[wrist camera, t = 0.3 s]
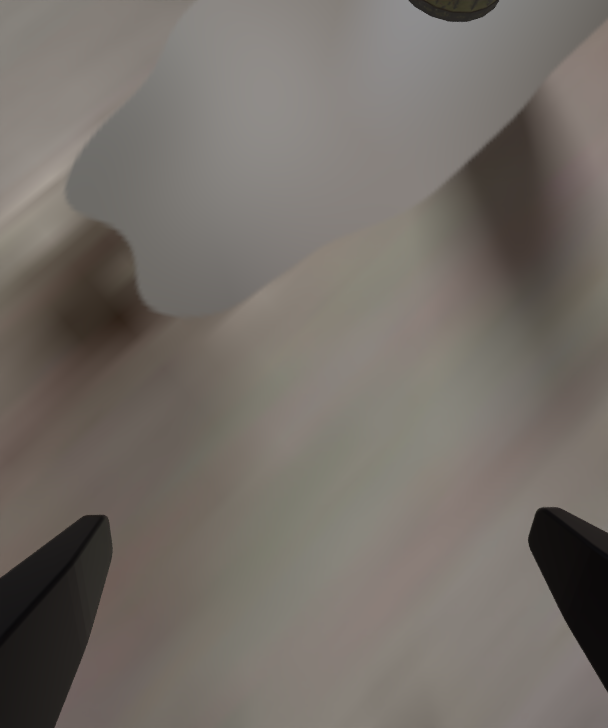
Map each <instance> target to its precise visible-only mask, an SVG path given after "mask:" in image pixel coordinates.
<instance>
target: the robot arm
mask: <svg viewBox="0 0 608 728" xmlns="http://www.w3.org/2000/svg"><path fill="white" fill-rule="evenodd" d="M528 542H529V547H530V550H531V552H532V554H533V556H534V558H535V560H536V562H537V564H538V566H539V568H540V570H541V573H542V575H543V577H544V579H545V581H546V583H547V585H548V587H549V589H550V591H551V593H552V595H553V597H554V599H555V601H556V603H557V606H558V608H559V610H560V611H561V613H562V615H563V617H564V619H565V621H566V623H567V625H568V626H569V628H570V630H571V632H572V633H573V635H574V637H575V638H576V640H577V642H578V643H579V645H580V647H581V648H582V650H583V652H584V653H585V655H586V657H587V658H588V660H589V662H590V664H591V665H592V667H593V669H594V670H595V672H596V674H597V675H598V677H599V679H600V680H601V682H602V684H603V685H604V687H605V689H606V690H607V692H608V533H607V532H605V531H603V530H601V529H599V528H597V527H595V526H593V525H592V524H590V523H588V522H586V521H584V520H582V519H580V518H578V517H576V516H574V515H572V514H571V513H569V512H567V511H565V510H563V509H561V508H558V507H542V508H539V509H538V510H537V511H536V514H535V517H534V520H533V523H532V526H531V530H530V533H529V537H528ZM112 549H113V548H112V540H111V532H110V525H109V520H108V517H107V516H105V515H86V516H83V517H82V518H80V519H79V520H77V521H76V522H75V523H73V524H72V525H71V526H69V527H68V528H67V529H65V530H64V531H63V532H61V533H60V534H59V535H57V536H56V537H55V538H53V539H52V540H51V541H49V542H48V543H47V544H45V545H44V546H42V547H41V548H40V549H38V550H37V551H36V552H34V553H33V554H32V555H30V556H29V557H28V558H26V559H25V560H24V561H22V562H21V563H20V564H18V565H17V566H16V567H14V568H13V569H12V570H10V571H9V572H8V573H6V574H5V575H4V576H2V577H1V578H0V728H54V727H55V725H56V722H57V720H58V717H59V715H60V712H61V710H62V707H63V705H64V702H65V700H66V697H67V695H68V692H69V689H70V687H71V684H72V682H73V679H74V677H75V674H76V672H77V669H78V667H79V664H80V662H81V659H82V657H83V654H84V651H85V648H86V646H87V643H88V640H89V637H90V633H91V630H92V627H93V623H94V620H95V616H96V613H97V609H98V605H99V602H100V598H101V595H102V591H103V588H104V584H105V581H106V577H107V574H108V570H109V566H110V563H111V559H112Z"/></svg>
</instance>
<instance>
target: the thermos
mask: <svg viewBox="0 0 608 728" xmlns="http://www.w3.org/2000/svg"><path fill="white" fill-rule="evenodd" d="M409 1H410V2H411V3H412V4H413V5H414V6H415V7H416V8H418V9H420V10H422V11H423V12H425V13H426V14H428V15H430V16H432V17H435V18H439V19H443V20H446V21H452V22H467V21H471V20H474V19H478V18H480V17H483V16H485V15H486V14H487V13H488V12H490V11H491V10H493V9H494V8H495V6H496V5H497V3H498V2H499V0H409Z"/></svg>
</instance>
